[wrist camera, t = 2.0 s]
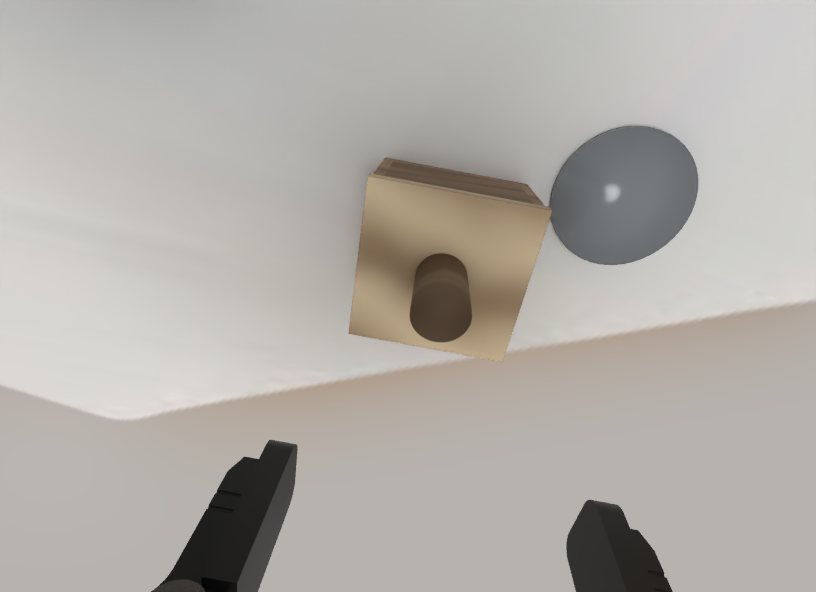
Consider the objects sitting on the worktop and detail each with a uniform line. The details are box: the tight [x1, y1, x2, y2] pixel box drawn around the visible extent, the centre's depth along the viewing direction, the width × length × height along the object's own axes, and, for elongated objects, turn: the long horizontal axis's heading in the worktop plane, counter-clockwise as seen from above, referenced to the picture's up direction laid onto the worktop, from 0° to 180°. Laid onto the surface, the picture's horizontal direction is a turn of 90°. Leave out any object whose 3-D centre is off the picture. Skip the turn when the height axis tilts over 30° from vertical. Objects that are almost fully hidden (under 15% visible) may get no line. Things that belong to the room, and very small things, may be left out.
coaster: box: [550, 126, 698, 265], centre depth 28 cm, size 9×9×1 cm
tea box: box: [373, 158, 544, 206], centre depth 28 cm, size 10×10×6 cm
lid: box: [349, 174, 552, 362], centre depth 23 cm, size 10×10×6 cm
